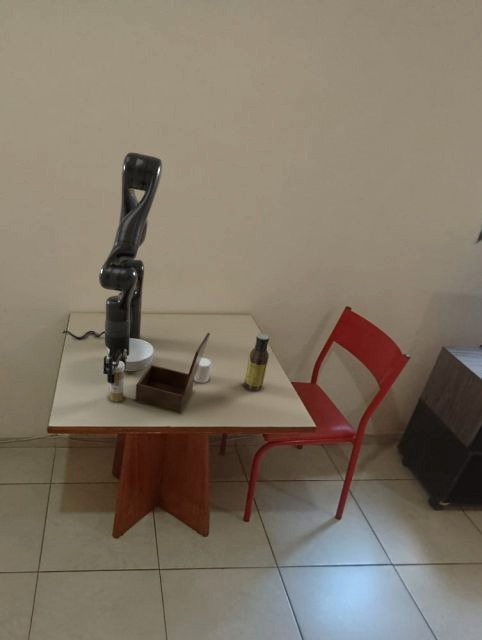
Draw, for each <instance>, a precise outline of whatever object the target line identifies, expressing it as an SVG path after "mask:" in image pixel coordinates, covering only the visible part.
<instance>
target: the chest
mask: <svg viewBox="0 0 482 640" xmlns="http://www.w3.org/2000/svg"><path fill="white" fill-rule="evenodd" d="M188 374H189V373H186V372H183V371H178V370H175V369H171V368H167V367H163V366H162V367H161V366H159V365H154V364H150V365H149V366H148V368H147V370H146V371H144V374H143V375H142V376H141V377H140V379H139V380H138V381H137V383H136V386H135V402H138V403H141V404H144V405H148V406H152V407H155V408H159V409H163V410H166V411H170V412H174V413H177V414H182V411H183V409H184V407H185V405H186V403H187V402H188V400H189V398H190V396H191V395H192V393H193V388H194V378H193V380H192V382H191V384H190V385H189V387H188V389H187V391H186V392H185V394H184V396H183V395H181V394H182V391H183V388H184V385H185V382H186V379H187V376H188Z"/></svg>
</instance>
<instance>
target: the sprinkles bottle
mask: <svg viewBox="0 0 482 640" xmlns="http://www.w3.org/2000/svg"><path fill="white" fill-rule="evenodd" d="M113 364H116V362H113ZM124 369H125V364H124V363H123V362H122V361H119V364H118V367H116V370H115V382H114V384H111V383H109V390H110V391H109V399H110V400H111V401H112V402H116V403H117V402H121V401H123V400H124V386H125V370H124ZM112 370H113V369H112Z"/></svg>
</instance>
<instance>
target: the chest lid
mask: <svg viewBox="0 0 482 640" xmlns="http://www.w3.org/2000/svg"><path fill="white" fill-rule="evenodd" d="M210 336H211V333H210V332H207V333H206V335H205V337H204V338H203V340H202V342H201V343H200V345H198V348H197V349H196V351H195V353H194V356H193V360H192V361H191V365H190V368H189V371H188V373H187V374H188V376H187V379H186V382H185V385H184V388H183V391H182V394H181V395H183V396H184V394H185V392H186V391H187V389H188V387H189V385H190V384H191V382H192V380H193V378H194V377H195V375H196V372H197V369H198V367H199V364H200V361H201V358H202V357H203V355H204V353H205V349H206V347H207V344H208V341H209V339H210Z"/></svg>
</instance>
